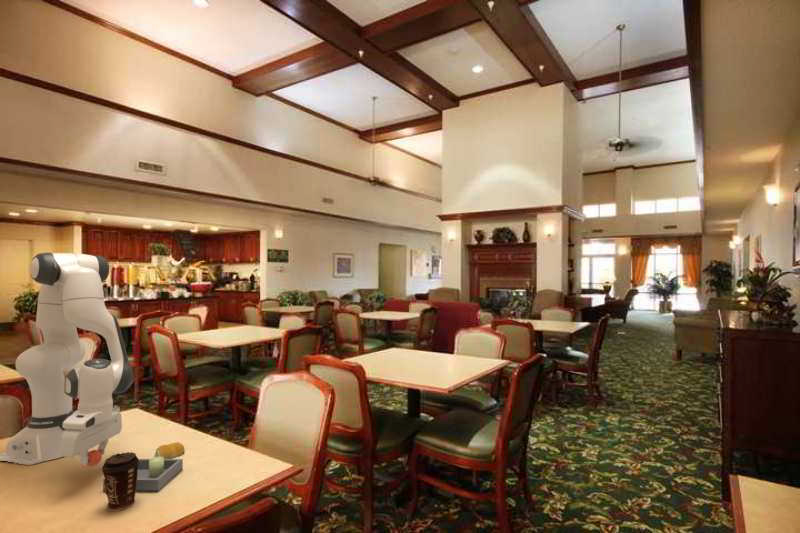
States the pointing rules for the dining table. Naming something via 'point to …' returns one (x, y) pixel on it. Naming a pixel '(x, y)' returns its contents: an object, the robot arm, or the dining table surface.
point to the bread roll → (170, 450)
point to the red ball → (94, 457)
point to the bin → (156, 484)
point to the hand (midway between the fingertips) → (92, 459)
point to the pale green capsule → (156, 467)
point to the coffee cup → (120, 480)
